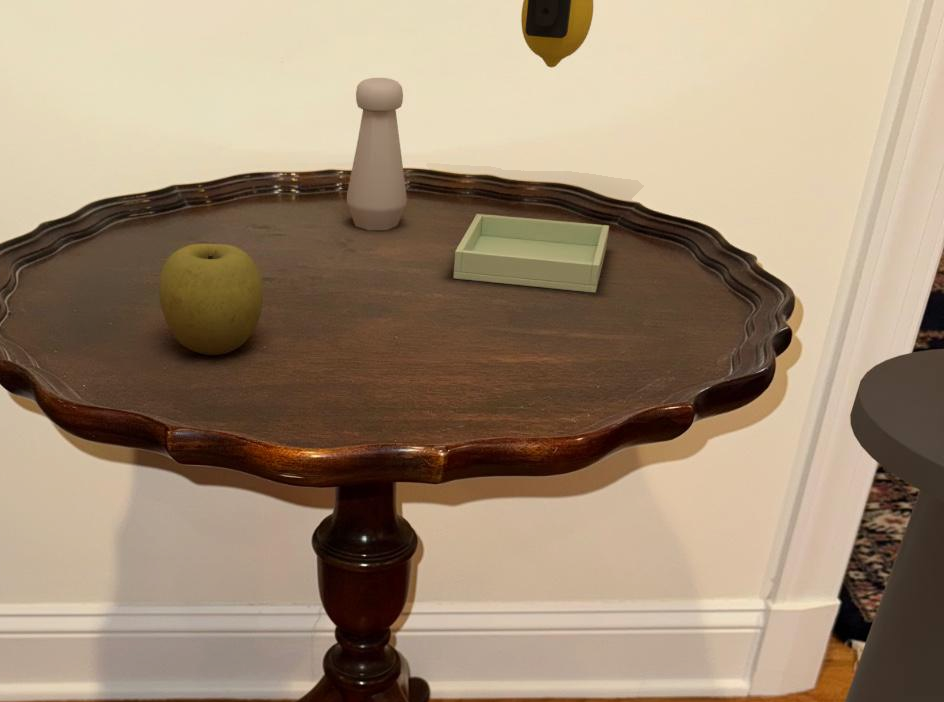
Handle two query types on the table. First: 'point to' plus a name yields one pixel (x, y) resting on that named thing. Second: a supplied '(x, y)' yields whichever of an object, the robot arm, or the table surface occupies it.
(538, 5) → the robot arm
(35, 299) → the table surface
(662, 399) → the table surface
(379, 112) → the salt shaker
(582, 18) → the lemon
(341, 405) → the table surface
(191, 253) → the apple
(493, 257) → the dish
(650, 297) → the table surface
